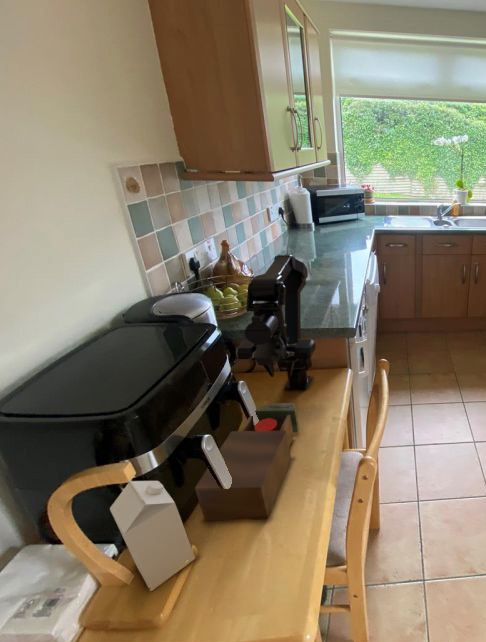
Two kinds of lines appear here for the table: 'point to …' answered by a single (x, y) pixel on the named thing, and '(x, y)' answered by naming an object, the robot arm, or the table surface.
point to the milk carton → (152, 531)
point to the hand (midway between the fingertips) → (281, 376)
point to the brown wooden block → (247, 476)
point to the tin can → (266, 425)
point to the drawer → (277, 418)
